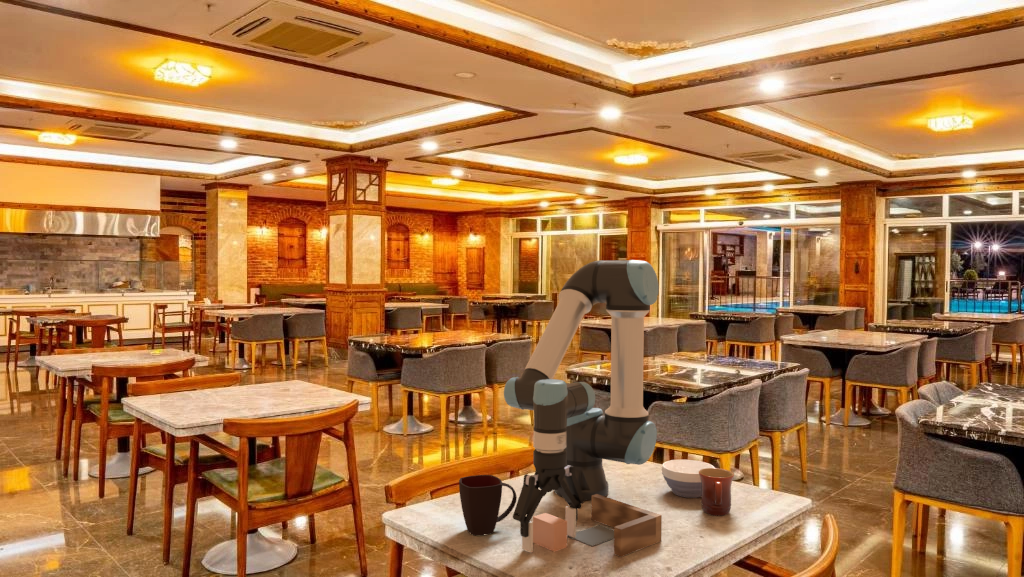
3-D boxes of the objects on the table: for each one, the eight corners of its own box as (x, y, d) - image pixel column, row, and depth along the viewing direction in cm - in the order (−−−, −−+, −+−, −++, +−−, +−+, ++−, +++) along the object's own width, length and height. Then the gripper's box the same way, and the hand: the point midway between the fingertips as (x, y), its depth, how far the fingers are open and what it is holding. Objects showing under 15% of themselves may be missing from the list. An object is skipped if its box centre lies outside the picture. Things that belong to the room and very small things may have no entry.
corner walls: (556, 531, 169) (556, 506, 169) (596, 517, 178) (597, 494, 178) (620, 556, 154) (621, 529, 153) (661, 541, 163) (661, 515, 162)
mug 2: (697, 505, 187) (697, 467, 187) (731, 508, 185) (732, 469, 185) (700, 521, 175) (700, 480, 175) (736, 524, 174) (737, 482, 173)
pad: (567, 536, 165) (567, 535, 165) (599, 525, 173) (599, 524, 173) (592, 546, 159) (592, 545, 159) (624, 534, 166) (624, 533, 166)
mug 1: (455, 526, 172) (454, 477, 171) (509, 519, 176) (509, 471, 176) (465, 541, 162) (465, 489, 162) (522, 533, 167) (522, 483, 167)
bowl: (706, 505, 188) (706, 476, 187) (654, 495, 195) (654, 468, 195) (721, 490, 200) (721, 464, 200) (671, 482, 208) (672, 456, 207)
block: (532, 542, 162) (532, 516, 162) (545, 538, 164) (545, 512, 164) (554, 551, 156) (554, 525, 156) (567, 547, 159) (567, 520, 159)
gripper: (519, 461, 149) (519, 562, 149) (599, 443, 165) (599, 534, 166) (496, 454, 155) (496, 551, 155) (576, 437, 171) (576, 525, 171)
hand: (549, 542), depth 160 cm, fingers open, 13 cm apart
